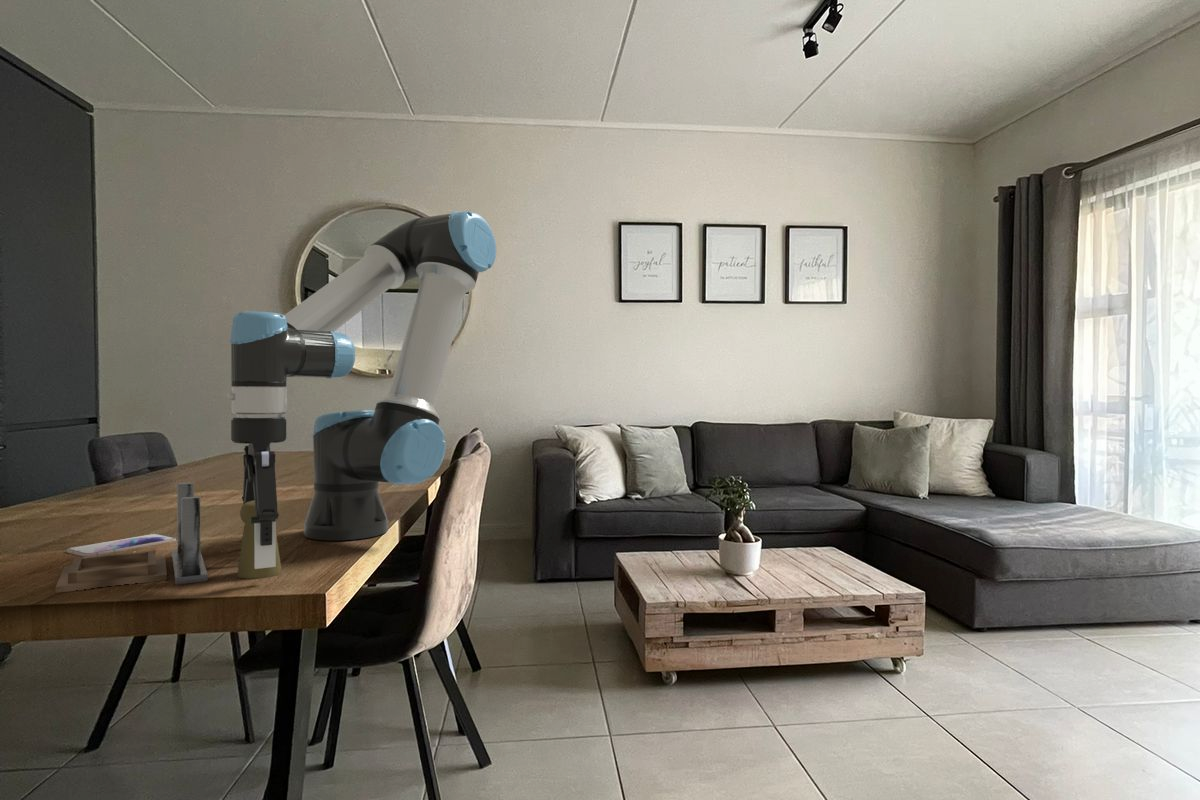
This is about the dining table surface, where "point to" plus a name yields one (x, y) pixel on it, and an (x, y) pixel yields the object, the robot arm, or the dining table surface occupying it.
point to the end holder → (112, 571)
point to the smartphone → (119, 545)
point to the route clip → (188, 538)
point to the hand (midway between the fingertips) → (259, 558)
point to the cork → (247, 548)
